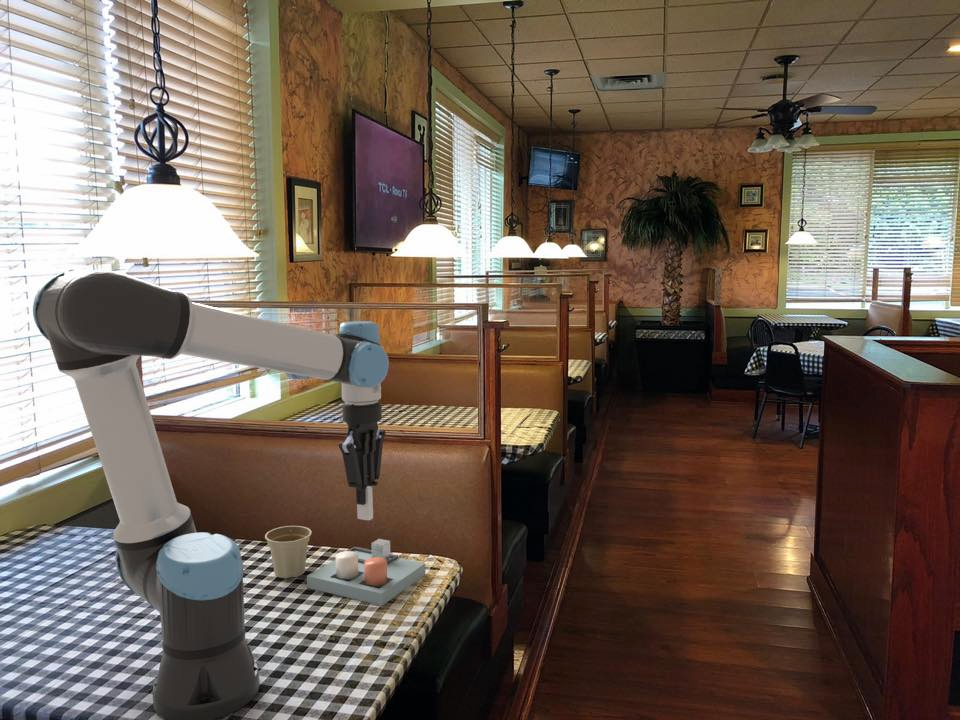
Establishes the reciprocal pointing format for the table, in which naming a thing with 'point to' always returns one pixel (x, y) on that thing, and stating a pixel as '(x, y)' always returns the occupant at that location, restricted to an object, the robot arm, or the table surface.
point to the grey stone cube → (381, 549)
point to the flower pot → (288, 550)
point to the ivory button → (346, 564)
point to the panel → (398, 579)
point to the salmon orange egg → (375, 571)
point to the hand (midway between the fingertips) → (365, 518)
